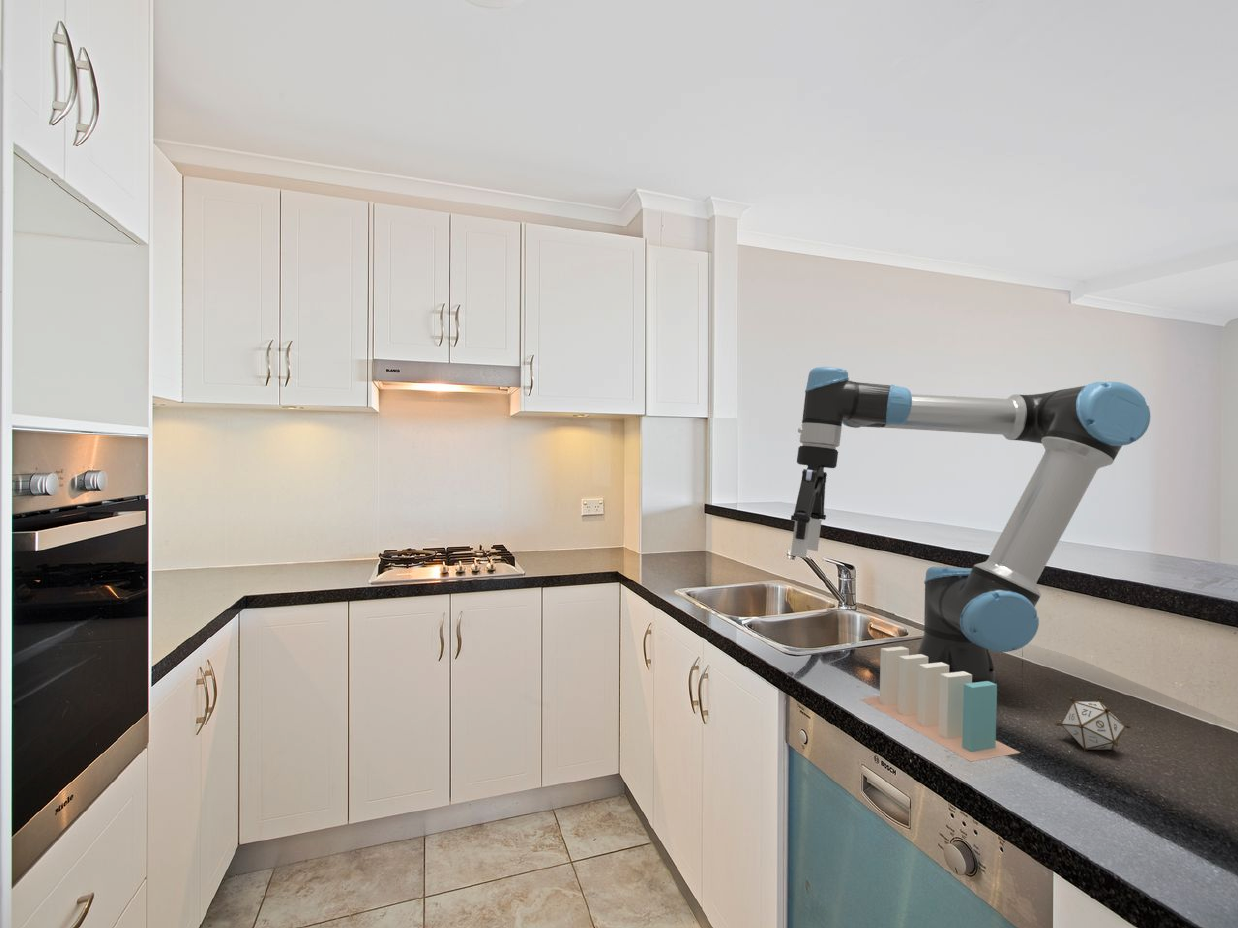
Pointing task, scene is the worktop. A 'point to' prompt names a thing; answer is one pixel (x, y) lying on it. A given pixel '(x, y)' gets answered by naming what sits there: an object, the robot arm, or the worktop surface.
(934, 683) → the domino
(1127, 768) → the worktop surface
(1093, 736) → the game die
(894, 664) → the domino
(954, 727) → the domino
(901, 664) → the domino
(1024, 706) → the worktop surface
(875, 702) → the mat
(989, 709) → the domino
